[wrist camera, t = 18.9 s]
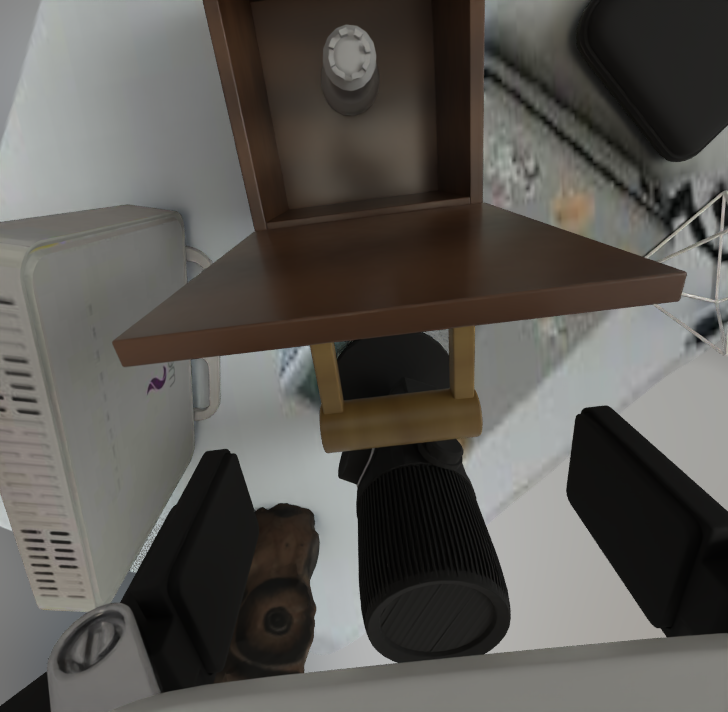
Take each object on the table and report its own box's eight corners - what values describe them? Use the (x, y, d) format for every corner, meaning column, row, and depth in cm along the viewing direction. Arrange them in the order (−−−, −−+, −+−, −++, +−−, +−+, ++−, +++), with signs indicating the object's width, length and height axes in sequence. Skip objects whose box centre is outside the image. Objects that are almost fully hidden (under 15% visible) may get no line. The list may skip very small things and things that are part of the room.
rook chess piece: (344, 31, 29) (342, -17, 22) (391, 77, 30) (403, 47, 23) (309, 88, 30) (295, 60, 23) (355, 129, 31) (355, 116, 24)
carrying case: (781, 57, 31) (679, -112, 27) (823, 45, 28) (717, -146, 24) (663, 173, 34) (556, 39, 30) (690, 173, 31) (576, 25, 27)
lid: (109, 341, 10) (185, 507, 13) (689, 271, 10) (639, 458, 12) (252, 231, 25) (274, 319, 27) (485, 202, 24) (482, 294, 27)
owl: (207, 536, 51) (127, 734, 33) (254, 474, 47) (192, 662, 29) (289, 572, 55) (258, 769, 37) (340, 518, 51) (333, 710, 32)
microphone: (355, 308, 39) (358, 500, 16) (476, 350, 41) (630, 570, 18) (314, 417, 44) (273, 676, 21) (424, 448, 46) (493, 713, 24)
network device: (221, 444, 45) (133, 625, 27) (142, 436, 44) (-2, 618, 26) (217, 211, 35) (69, 254, 16) (114, 196, 34) (-159, 223, 16)
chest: (239, -6, 28) (179, -100, 19) (439, -35, 28) (486, -147, 18) (283, 219, 35) (256, 237, 25) (446, 198, 35) (482, 208, 25)
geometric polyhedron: (670, 175, 34) (769, 177, 26) (776, 205, 35) (903, 215, 27) (602, 308, 39) (667, 344, 31) (697, 330, 41) (784, 370, 32)
